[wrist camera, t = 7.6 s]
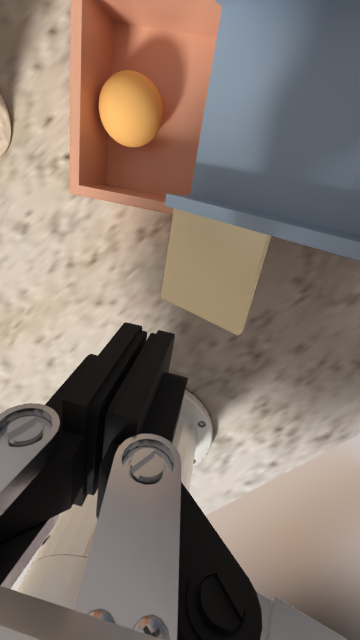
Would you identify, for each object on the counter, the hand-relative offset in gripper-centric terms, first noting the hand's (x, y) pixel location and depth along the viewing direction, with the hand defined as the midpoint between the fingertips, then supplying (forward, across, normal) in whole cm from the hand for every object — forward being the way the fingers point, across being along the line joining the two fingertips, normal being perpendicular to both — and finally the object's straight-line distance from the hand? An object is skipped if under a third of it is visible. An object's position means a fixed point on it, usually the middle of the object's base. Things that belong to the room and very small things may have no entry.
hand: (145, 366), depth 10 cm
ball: (+14, +6, -9) cm, 17 cm away
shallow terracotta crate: (+16, +4, -9) cm, 19 cm away
